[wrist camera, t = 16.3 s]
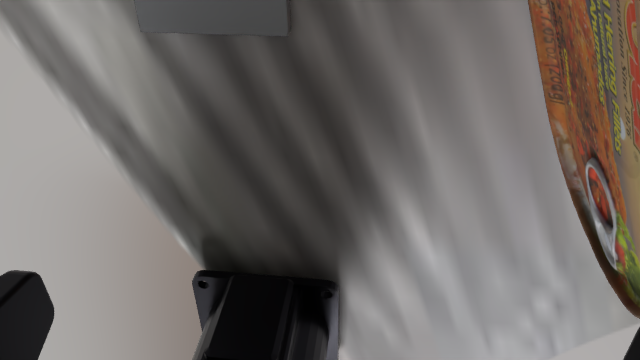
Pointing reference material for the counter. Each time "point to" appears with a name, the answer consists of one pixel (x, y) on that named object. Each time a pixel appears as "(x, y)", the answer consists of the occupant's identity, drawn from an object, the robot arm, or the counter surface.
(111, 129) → the counter surface
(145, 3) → the grey plank
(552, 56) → the tin
